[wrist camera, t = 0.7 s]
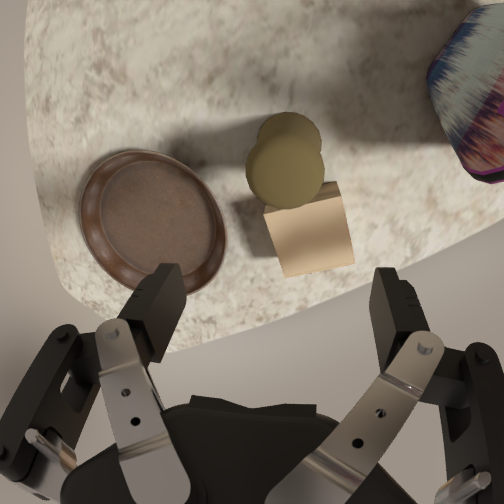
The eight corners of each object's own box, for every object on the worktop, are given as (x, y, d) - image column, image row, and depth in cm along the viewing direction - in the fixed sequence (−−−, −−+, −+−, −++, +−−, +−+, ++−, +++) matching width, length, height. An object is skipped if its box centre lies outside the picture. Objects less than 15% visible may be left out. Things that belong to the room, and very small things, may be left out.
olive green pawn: (287, 186, 31) (281, 240, 21) (243, 141, 29) (214, 175, 20) (335, 146, 28) (353, 183, 19) (290, 98, 26) (285, 109, 17)
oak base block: (267, 198, 32) (263, 214, 28) (336, 181, 30) (341, 196, 26) (286, 256, 35) (284, 278, 31) (350, 243, 33) (355, 263, 29)
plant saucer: (190, 116, 28) (179, 121, 26) (257, 265, 36) (253, 281, 34) (70, 181, 34) (55, 190, 31) (136, 295, 41) (127, 309, 39)
